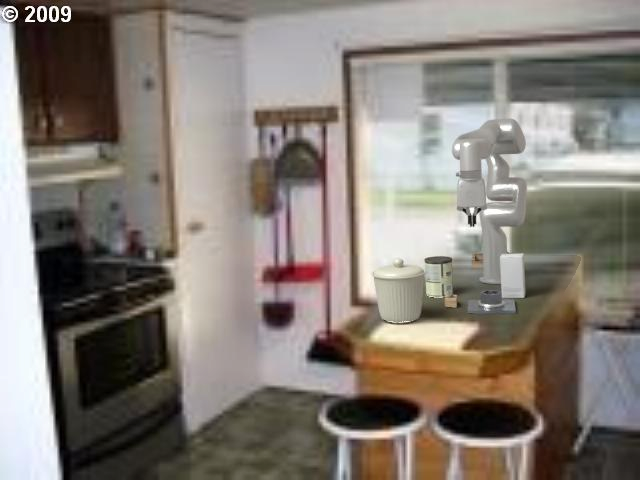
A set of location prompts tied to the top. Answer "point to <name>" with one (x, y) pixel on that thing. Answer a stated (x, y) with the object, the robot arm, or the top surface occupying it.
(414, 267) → the canister
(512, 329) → the top surface
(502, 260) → the skincare box
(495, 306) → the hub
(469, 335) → the top surface
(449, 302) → the stand
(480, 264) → the dish frame
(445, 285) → the coffee can
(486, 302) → the plate ring
